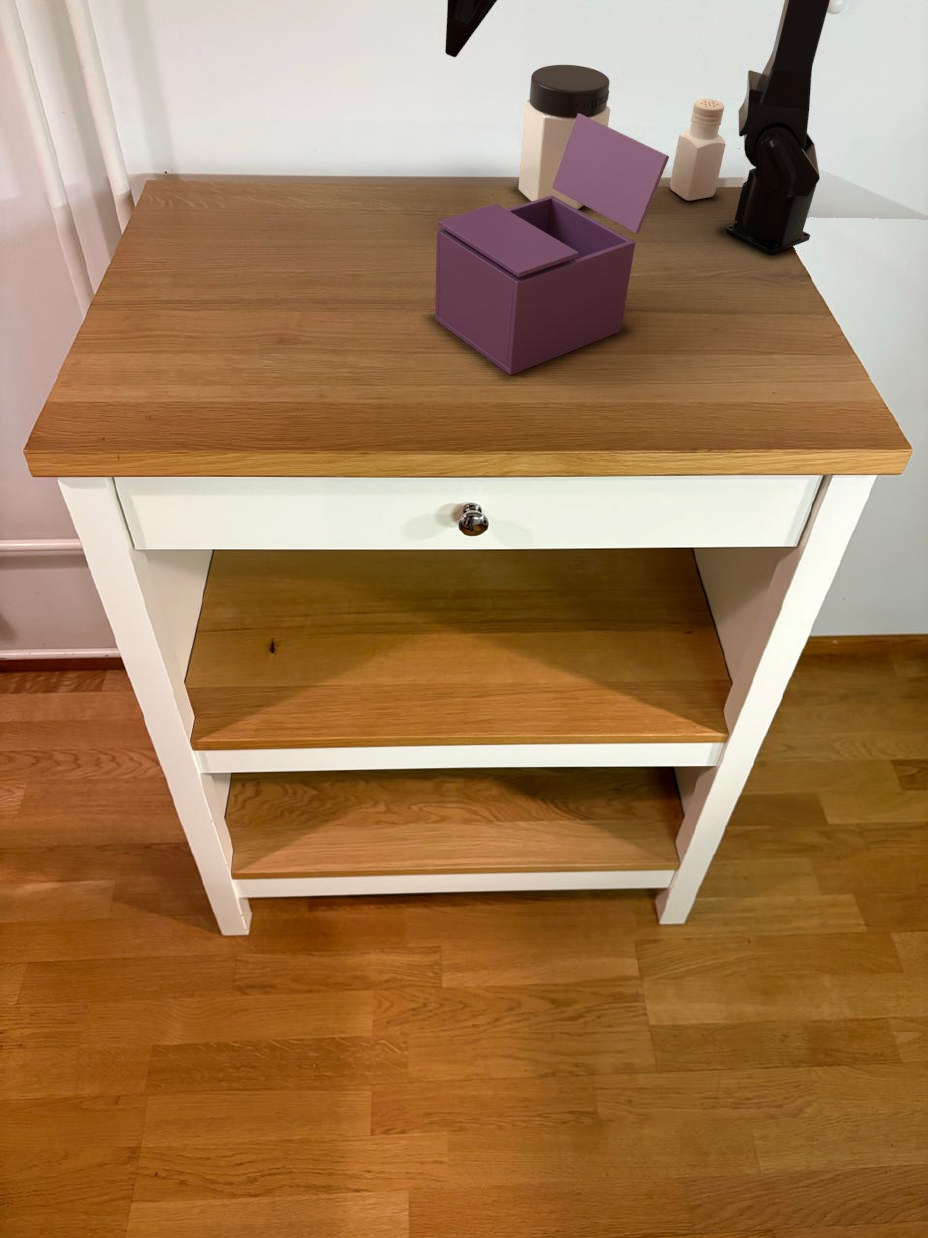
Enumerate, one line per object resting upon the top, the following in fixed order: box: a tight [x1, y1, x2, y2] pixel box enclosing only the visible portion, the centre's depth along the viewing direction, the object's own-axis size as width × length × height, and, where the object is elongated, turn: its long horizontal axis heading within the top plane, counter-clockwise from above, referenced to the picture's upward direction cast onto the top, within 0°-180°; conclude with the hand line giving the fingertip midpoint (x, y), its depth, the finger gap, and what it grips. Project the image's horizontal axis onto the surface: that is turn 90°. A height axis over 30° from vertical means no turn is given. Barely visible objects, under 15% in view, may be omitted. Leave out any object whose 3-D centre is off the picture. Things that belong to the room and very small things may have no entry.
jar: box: [518, 64, 611, 210], centre depth 105 cm, size 9×8×12 cm
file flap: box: [552, 113, 670, 235], centre depth 85 cm, size 6×11×1 cm
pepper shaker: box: [669, 98, 727, 201], centre depth 108 cm, size 4×4×10 cm
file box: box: [434, 195, 636, 376], centre depth 87 cm, size 13×11×9 cm
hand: (459, 40), depth 96 cm, fingers open, 9 cm apart
